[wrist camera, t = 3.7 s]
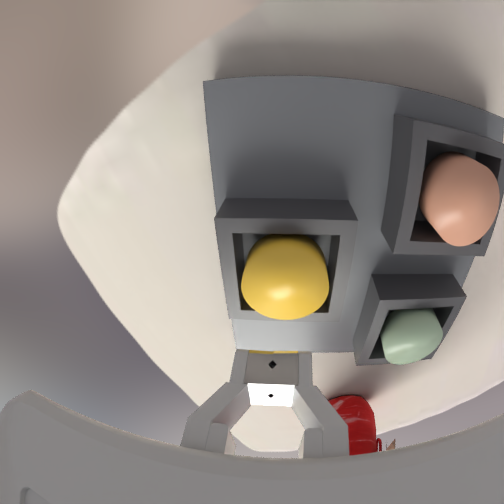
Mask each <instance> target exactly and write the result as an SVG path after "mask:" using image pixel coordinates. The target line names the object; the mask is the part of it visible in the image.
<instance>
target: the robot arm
mask: <svg viewBox="0 0 504 504" xmlns="http://www.w3.org/2000/svg"><path fill="white" fill-rule="evenodd" d="M251 405H277V406H291V407H292V409H293V410H294V412H295V414H296V415H297V417H298V419H299V420H300V422H301V424H302V425H303V427H304V428H305V431H304V434H303V437H302V440H301V443H300V446H299V452H298V454H299V455H298V458H296V459H295V458H264V457H263V458H262V457H250V456H239V455H235V448H236V444H235V442H234V439H233V437H232V434H231V432H230V429H231V428H232V427H233V426H234V425H235V424H236V423H237V421H238V420H239V419H240V418H241V417H242V416H243V414H244V413H245V412H246V411H247V410H248V408H249V407H250V406H251ZM0 504H504V413H503V414H501V415H499V416H496V417H494V418H492V419H490V420H488V421H485V422H483V423H480V424H478V425H475V426H473V427H470V428H467V429H465V430H462V431H460V432H456V433H453V434H450V435H447V436H444V437H441V438H438V439H434V440H430V441H427V442H423V443H419V444H415V445H411V446H406V447H402V448H397V449H392V450H386V451H380V452H374V453H367V454H359V455H351V456H349V438H348V425H347V424H346V423H345V422H344V420H343V419H342V418H341V417H340V415H339V414H338V413H337V412H336V410H335V409H334V408H333V407H332V405H331V404H330V403H329V401H328V400H327V399H326V398H325V396H324V395H323V394H322V393H321V391H320V390H319V389H318V387H317V386H313V382H312V353H311V351H260V350H246V349H237V350H236V352H235V357H234V362H233V367H232V372H231V377H230V382H226V383H225V384H224V385H223V386H222V387H220V388H219V389H218V390H217V391H216V392H215V393H214V394H213V395H212V396H211V397H210V398H209V399H208V400H207V401H206V402H204V403H203V404H202V405H201V406H200V407H199V408H198V409H197V410H196V411H195V412H194V413H192V414H191V415H190V416H189V417H188V419H187V422H186V426H185V430H184V433H183V437H182V441H181V445H180V446H178V445H173V444H169V443H165V442H161V441H157V440H153V439H150V438H146V437H142V436H139V435H136V434H132V433H130V432H126V431H123V430H120V429H118V428H115V427H111V426H109V425H106V424H104V423H101V422H98V421H96V420H94V419H91V418H89V417H86V416H84V415H82V414H79V413H77V412H75V411H73V410H70V409H68V408H66V407H64V406H62V405H60V404H58V403H56V402H54V401H52V400H50V399H48V398H46V397H45V396H43V395H41V394H39V393H37V392H35V391H33V390H28V391H26V392H24V393H22V394H20V395H18V396H16V397H15V398H13V399H11V400H10V401H9V402H8V403H7V404H6V405H5V407H4V408H3V409H2V411H1V413H0Z"/></svg>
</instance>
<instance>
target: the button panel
mask: <svg viewBox="0 0 504 504" xmlns="http://www.w3.org/2000/svg"><path fill="white" fill-rule="evenodd" d="M203 89H204V100H205V112H206V123H207V133H208V143H209V153H210V162H211V171H212V180H213V189H214V197H215V205H216V216H215V218H214V221H215V229H216V236H217V243H218V250H219V257H220V264H221V271H222V278H223V284H224V291H225V297H226V303H227V310H228V316H229V319H231V320H232V327H233V333H234V339H235V345H236V349H246V350H260V351H311V352H354V355H355V362H356V366H358V365H375V364H388V363H390V362H388V361H387V360H386V358H385V354H384V350H383V346H382V341H381V337H380V331H381V328H382V326H383V323H384V321H385V318H386V317H387V316H388V315H389V314H390V313H391V312H393V311H394V310H396V309H418V308H433V310H434V312H435V315H436V317H437V319H438V321H439V324H440V326H441V328H442V331H443V337H442V340H441V342H440V344H441V343H442V341H443V339H444V338H445V336H446V334H447V333H448V331H449V329H450V327H451V326H452V324H453V322H454V320H455V318H456V317H457V315H458V313H459V311H460V309H461V307H462V305H463V303H464V301H465V299H466V297H467V296H466V294H465V293H464V291H463V289H462V286H463V284H464V281H465V279H466V277H467V274H468V272H469V269H470V267H471V264H472V262H473V259H474V257H475V256H484V255H485V253H486V250H487V247H488V245H489V242H490V239H491V236H492V233H493V230H494V227H495V223H496V220H497V217H498V213H499V209H500V206H501V202H502V198H503V194H504V144H503V133H504V118H502V117H500V116H497V115H495V114H492V113H490V112H487V111H485V110H482V109H480V108H477V107H474V106H471V105H468V104H465V103H462V102H459V101H456V100H453V99H450V98H446V97H443V96H439V95H436V94H432V93H428V92H424V91H420V90H416V89H411V88H406V87H401V86H396V85H391V84H385V83H379V82H372V81H365V80H357V79H348V78H337V77H322V76H290V75H284V76H252V77H238V78H227V79H217V80H209V81H203ZM449 151H455V152H460V153H463V154H464V155H466V156H468V157H470V158H472V159H474V160H476V161H477V162H479V163H481V164H483V165H484V166H486V167H488V168H489V169H490V170H491V171H492V173H493V174H494V176H495V178H496V180H497V183H498V186H499V193H500V201H499V207H498V212H497V215H496V217H495V220H494V222H493V224H492V225H491V227H490V228H489V230H488V231H487V232H486V233H485V234H484V235H483V236H482V237H481V238H480V239H479V240H477V241H476V242H474V243H472V244H470V245H466V246H453V245H451V244H449V243H447V242H446V241H444V240H443V239H442V238H441V236H440V235H439V234H438V233H437V231H436V230H435V229H434V228H433V226H432V225H431V224H430V223H429V222H428V221H427V219H426V218H425V217H424V215H423V214H422V212H421V209H420V206H419V196H420V191H421V185H422V178H423V172H424V170H425V169H426V167H427V166H428V164H429V163H430V162H431V161H432V160H433V159H434V158H436V157H437V156H438V155H440V154H442V153H445V152H449ZM269 234H303V235H305V236H307V237H309V238H311V239H312V240H313V241H315V242H316V243H317V244H318V245H319V247H320V248H321V250H322V252H323V254H324V257H325V261H326V268H327V274H328V280H329V292H328V296H327V298H326V300H325V302H324V303H323V304H322V306H321V307H320V308H319V309H317V310H316V311H315V312H313V313H311V314H310V315H307V316H305V317H302V318H298V319H293V320H279V319H273V318H269V317H267V316H264V315H262V314H260V313H258V312H257V311H255V310H254V309H253V308H251V306H250V305H249V304H248V303H247V302H246V300H245V299H244V297H243V294H242V290H241V282H242V277H243V273H244V269H245V264H246V260H247V256H248V253H249V251H250V249H251V248H252V246H253V245H254V244H255V243H256V242H257V241H258V240H259V239H261V238H262V237H264V236H266V235H269ZM440 344H439V345H438V347H439V346H440ZM438 347H437V348H436V349H435V350H434V351H433V352H432V353H430V354H429V355H427V356H426V357H424V358H422V359H420V360H425V359H431V358H432V357H433V355H434V354H435V352H436V351H437V349H438Z"/></svg>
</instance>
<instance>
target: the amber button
mask: <svg viewBox="0 0 504 504" xmlns="http://www.w3.org/2000/svg"><path fill="white" fill-rule="evenodd" d="M241 290H242V294H243V297H244V299H245V300H246V302H247V303H248V304H249V305H250V306H251V308H253V309H254V310H255V311H257V312H258V313H260V314H262V315H264V316H267V317H269V318H273V319H279V320H293V319H298V318H302V317H305V316H307V315H310V314H311V313H313V312H315V311H316V310H317V309H319V308H320V307H321V306H322V304H323V303H324V302H325V300H326V298H327V296H328V292H329V280H328V274H327V268H326V261H325V257H324V254H323V252H322V250H321V248H320V247H319V245H318V244H317V243H316V242H315V241H313V240H312V239H311V238H309V237H307V236H305V235H303V234H269V235H266V236H264V237H262V238H261V239H259V240H258V241H257V242H256V243H255V244H254V245H253V246H252V248H251V249H250V251H249V253H248V256H247V260H246V264H245V269H244V273H243V277H242V282H241Z"/></svg>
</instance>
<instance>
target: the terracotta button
mask: <svg viewBox="0 0 504 504" xmlns="http://www.w3.org/2000/svg"><path fill="white" fill-rule="evenodd" d="M499 201H500V193H499V186H498V183H497V180H496V178H495V176H494V174H493V173H492V171H491V170H490V169H489V168H488V167H486V166H484V165H483V164H481V163H479V162H477V161H476V160H474V159H472V158H470V157H468V156H466V155H464V154H463V153H460V152H455V151H449V152H445V153H442V154H440V155H438V156H437V157H436V158H434V159H433V160H432V161H431V162H430V163H429V164H428V166H427V167H426V169H425V170H424V172H423V178H422V185H421V191H420V196H419V206H420V209H421V212H422V214H423V215H424V217H425V218H426V219H427V221H428V222H429V223H430V224H431V225H432V226H433V228H434V229H435V230H436V231H437V233H438V234H439V235H440V236H441V238H442V239H443V240H444V241H446V242H447V243H449V244H451V245H453V246H466V245H470V244H472V243H474V242H476V241H477V240H479V239H480V238H481V237H482V236H483V235H484V234H485V233H486V232H487V231H488V230H489V228H490V227H491V225H492V224H493V222H494V220H495V217H496V215H497V212H498V207H499Z"/></svg>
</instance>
